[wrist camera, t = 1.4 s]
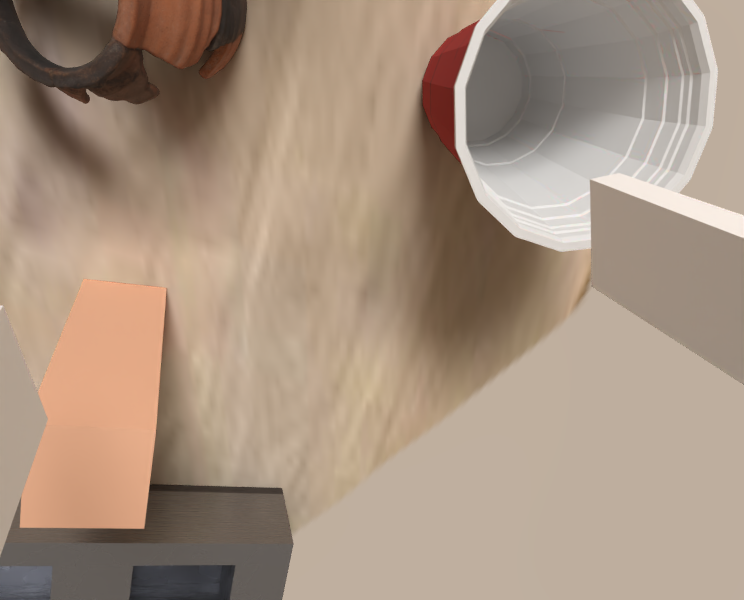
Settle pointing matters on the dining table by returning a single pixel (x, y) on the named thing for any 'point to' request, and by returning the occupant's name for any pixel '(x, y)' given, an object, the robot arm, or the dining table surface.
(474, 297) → the dining table surface
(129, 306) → the terracotta peg
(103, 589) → the grey peg hole block
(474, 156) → the plastic cup
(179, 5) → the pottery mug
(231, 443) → the dining table surface
